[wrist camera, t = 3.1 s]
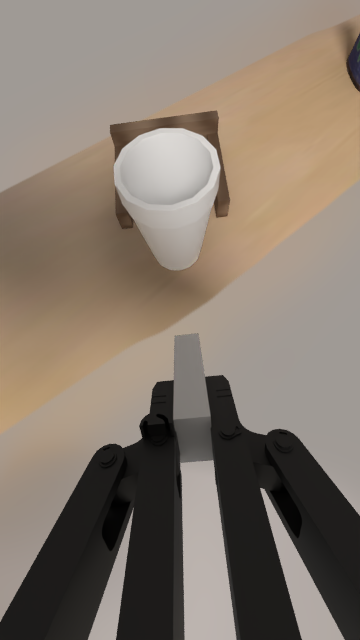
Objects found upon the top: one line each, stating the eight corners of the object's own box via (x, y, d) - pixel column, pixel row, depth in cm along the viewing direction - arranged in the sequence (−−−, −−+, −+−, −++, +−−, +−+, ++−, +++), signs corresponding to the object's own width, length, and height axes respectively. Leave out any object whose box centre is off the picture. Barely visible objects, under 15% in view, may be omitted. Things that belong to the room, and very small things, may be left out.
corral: (122, 228, 36) (110, 202, 32) (120, 157, 40) (110, 124, 36) (227, 216, 36) (231, 187, 31) (214, 145, 40) (217, 110, 35)
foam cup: (157, 214, 37) (136, 120, 24) (219, 229, 35) (231, 136, 23) (133, 271, 34) (97, 198, 22) (199, 289, 33) (200, 222, 20)
